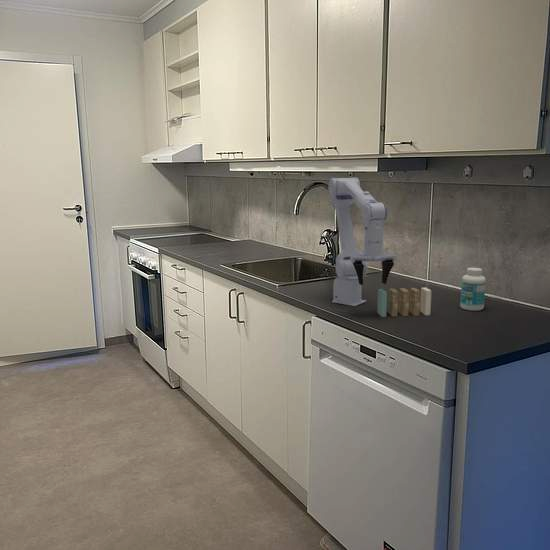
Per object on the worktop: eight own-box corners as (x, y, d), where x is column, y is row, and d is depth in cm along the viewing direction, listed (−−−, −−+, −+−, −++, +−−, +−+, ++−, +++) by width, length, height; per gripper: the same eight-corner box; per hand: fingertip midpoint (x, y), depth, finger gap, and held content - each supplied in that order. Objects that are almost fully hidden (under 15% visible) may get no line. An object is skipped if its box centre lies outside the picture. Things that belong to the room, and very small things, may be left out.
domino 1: (381, 316, 169) (382, 292, 167) (377, 312, 173) (378, 289, 172) (386, 316, 169) (387, 292, 168) (382, 312, 174) (382, 288, 172)
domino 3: (403, 315, 170) (404, 291, 168) (398, 312, 174) (399, 288, 172) (408, 315, 170) (409, 291, 168) (403, 311, 174) (404, 288, 173)
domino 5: (425, 315, 170) (426, 290, 169) (420, 311, 175) (421, 287, 173) (430, 315, 170) (431, 290, 169) (424, 311, 175) (426, 287, 173)
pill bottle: (455, 306, 180) (457, 267, 177) (472, 304, 182) (475, 266, 179) (470, 312, 173) (473, 271, 170) (488, 310, 175) (491, 269, 173)
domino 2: (392, 316, 169) (393, 292, 168) (388, 312, 174) (389, 288, 172) (397, 316, 169) (398, 291, 168) (392, 312, 174) (393, 288, 172)
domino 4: (414, 315, 170) (415, 291, 168) (409, 311, 174) (410, 288, 173) (419, 315, 170) (420, 291, 168) (414, 311, 175) (415, 287, 173)
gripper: (354, 243, 161) (353, 287, 164) (400, 242, 163) (398, 285, 166) (348, 240, 168) (347, 282, 171) (392, 239, 170) (391, 280, 173)
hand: (372, 283), depth 169 cm, fingers open, 7 cm apart
